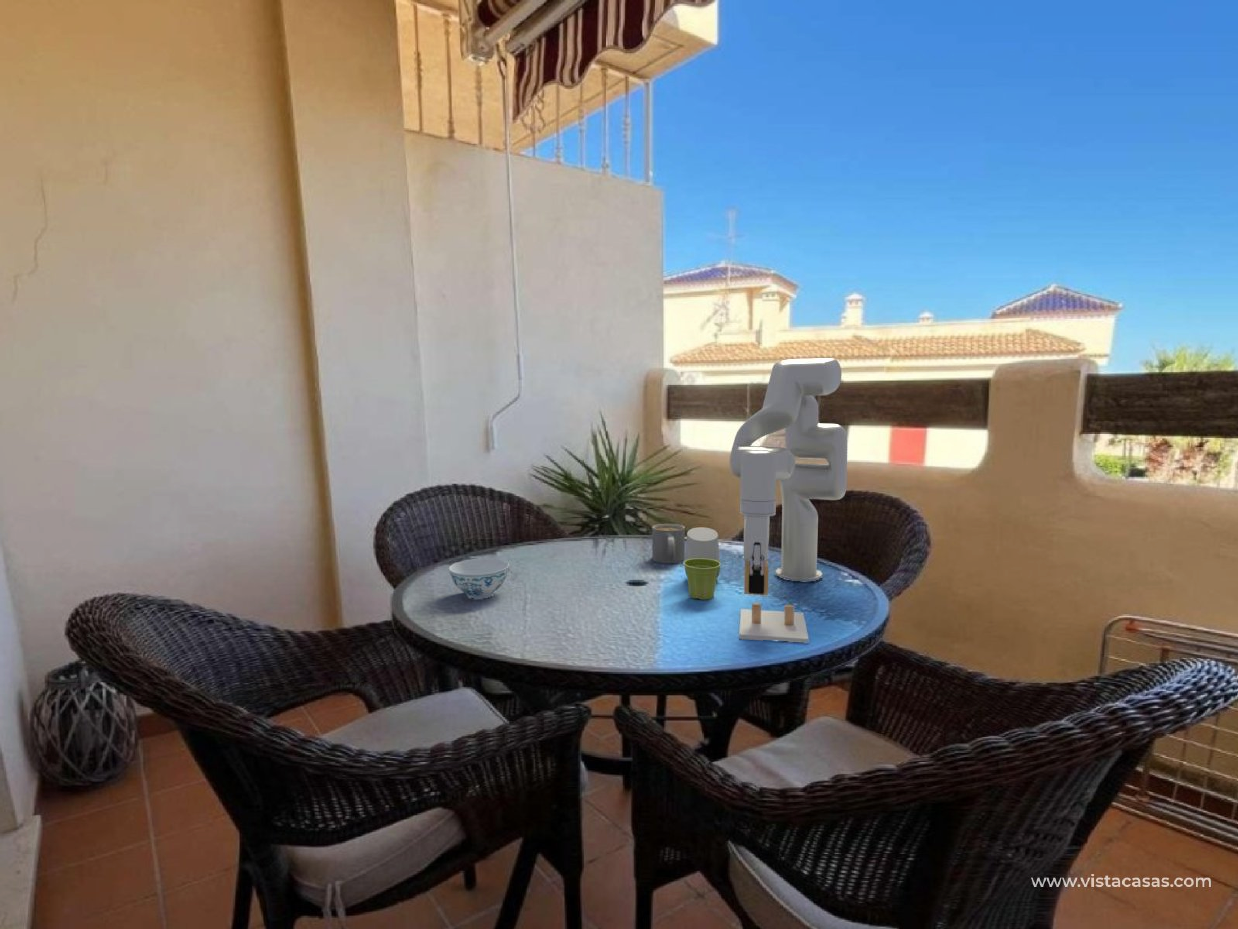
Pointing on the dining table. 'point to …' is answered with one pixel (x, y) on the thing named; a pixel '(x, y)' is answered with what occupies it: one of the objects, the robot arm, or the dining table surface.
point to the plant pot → (701, 577)
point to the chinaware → (479, 576)
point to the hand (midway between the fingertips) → (756, 588)
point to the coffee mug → (668, 543)
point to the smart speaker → (702, 544)
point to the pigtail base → (772, 624)
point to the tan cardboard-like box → (746, 581)
